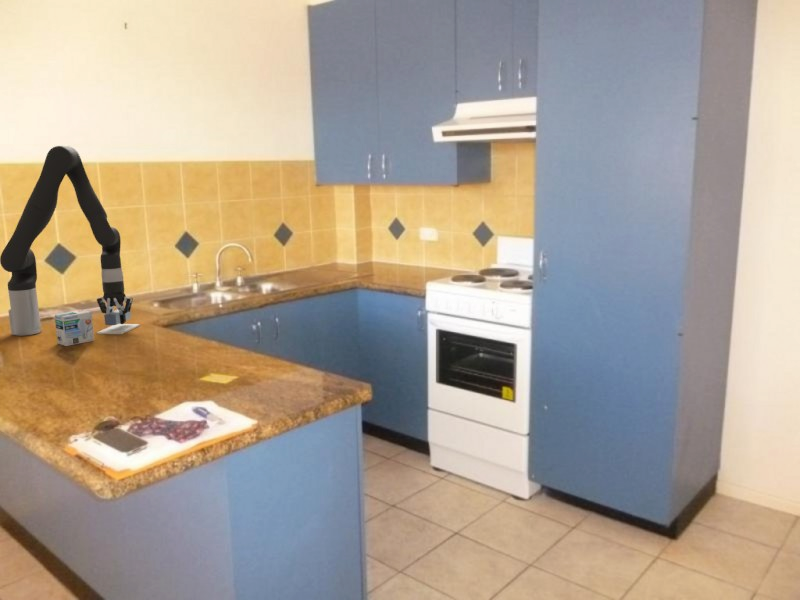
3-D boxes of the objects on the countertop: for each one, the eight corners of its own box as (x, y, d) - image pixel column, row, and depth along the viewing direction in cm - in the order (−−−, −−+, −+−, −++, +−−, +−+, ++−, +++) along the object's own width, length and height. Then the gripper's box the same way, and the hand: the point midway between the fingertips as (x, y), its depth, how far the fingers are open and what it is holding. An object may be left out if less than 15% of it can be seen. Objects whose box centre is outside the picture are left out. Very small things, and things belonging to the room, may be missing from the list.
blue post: (121, 318, 266) (105, 325, 254) (120, 308, 265) (104, 314, 253) (131, 318, 266) (115, 325, 254) (130, 308, 265) (114, 314, 253)
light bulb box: (66, 346, 236) (62, 316, 234) (56, 343, 240) (53, 314, 238) (95, 340, 245) (92, 311, 243) (85, 337, 249) (82, 309, 247)
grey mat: (96, 333, 254) (96, 332, 254) (116, 325, 268) (115, 323, 268) (122, 334, 253) (121, 332, 253) (140, 325, 267) (139, 324, 267)
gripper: (89, 281, 253) (94, 325, 256) (125, 281, 251) (129, 326, 254) (100, 278, 260) (105, 321, 263) (135, 278, 258) (139, 321, 262)
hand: (117, 323), depth 259 cm, fingers closed on blue post, 4 cm apart
